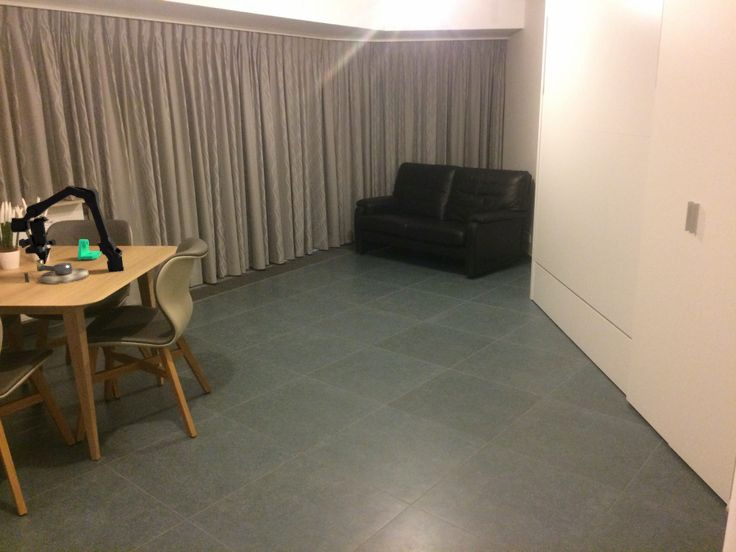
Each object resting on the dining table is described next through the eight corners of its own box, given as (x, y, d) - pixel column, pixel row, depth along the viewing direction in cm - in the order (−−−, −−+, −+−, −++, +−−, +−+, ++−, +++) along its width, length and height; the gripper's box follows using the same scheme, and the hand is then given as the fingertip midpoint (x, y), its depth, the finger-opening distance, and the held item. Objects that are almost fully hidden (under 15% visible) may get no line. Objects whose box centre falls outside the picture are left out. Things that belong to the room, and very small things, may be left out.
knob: (75, 271, 264) (74, 259, 262) (65, 275, 257) (63, 263, 255) (44, 269, 267) (42, 258, 265) (32, 273, 260) (30, 261, 259)
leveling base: (89, 270, 274) (88, 262, 273) (87, 280, 256) (86, 272, 255) (28, 276, 265) (27, 268, 263) (22, 288, 247) (21, 279, 246)
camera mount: (93, 261, 293) (90, 241, 290) (78, 261, 292) (75, 241, 289) (102, 255, 304) (99, 236, 301) (87, 256, 304) (84, 237, 301)
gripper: (29, 228, 270) (34, 260, 274) (9, 236, 252) (16, 270, 257) (53, 227, 271) (59, 259, 276) (36, 235, 254) (42, 269, 258)
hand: (44, 264), depth 266 cm, fingers closed
